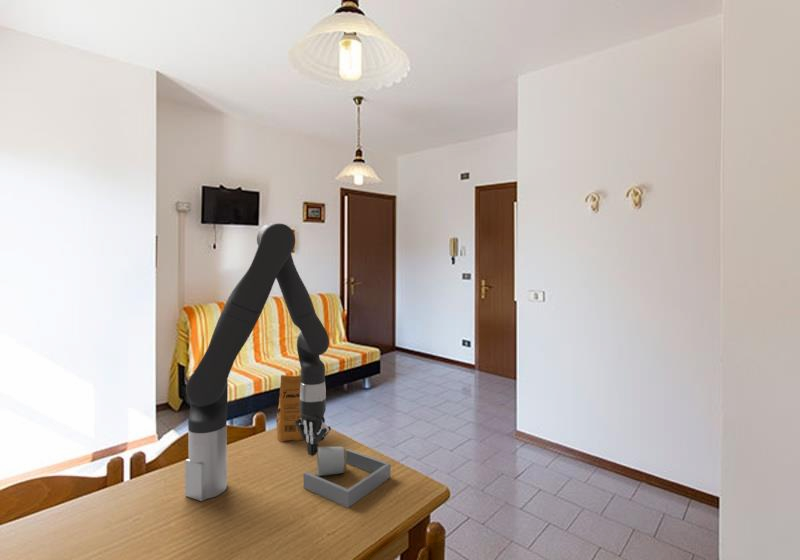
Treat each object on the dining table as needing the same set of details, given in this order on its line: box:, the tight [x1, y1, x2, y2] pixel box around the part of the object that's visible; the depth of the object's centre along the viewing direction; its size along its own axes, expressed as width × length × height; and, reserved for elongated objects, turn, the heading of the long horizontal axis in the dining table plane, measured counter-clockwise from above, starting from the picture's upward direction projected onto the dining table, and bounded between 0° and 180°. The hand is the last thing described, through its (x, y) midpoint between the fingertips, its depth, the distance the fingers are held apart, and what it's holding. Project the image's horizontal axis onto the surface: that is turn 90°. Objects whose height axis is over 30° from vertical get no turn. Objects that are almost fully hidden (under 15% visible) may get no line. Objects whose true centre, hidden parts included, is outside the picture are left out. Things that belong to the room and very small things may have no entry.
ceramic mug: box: [316, 446, 347, 477], centre depth 121 cm, size 11×8×8 cm
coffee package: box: [276, 374, 305, 443], centre depth 145 cm, size 10×12×22 cm
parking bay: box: [303, 448, 392, 509], centre depth 114 cm, size 18×16×4 cm
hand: (312, 454), depth 122 cm, fingers closed
